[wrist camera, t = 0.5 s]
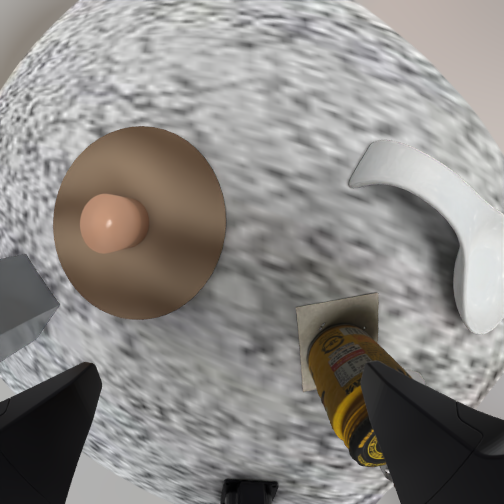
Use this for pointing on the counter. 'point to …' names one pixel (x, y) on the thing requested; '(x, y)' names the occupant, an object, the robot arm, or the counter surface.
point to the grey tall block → (22, 304)
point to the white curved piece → (458, 216)
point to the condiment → (343, 367)
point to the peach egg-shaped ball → (113, 223)
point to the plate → (160, 222)
